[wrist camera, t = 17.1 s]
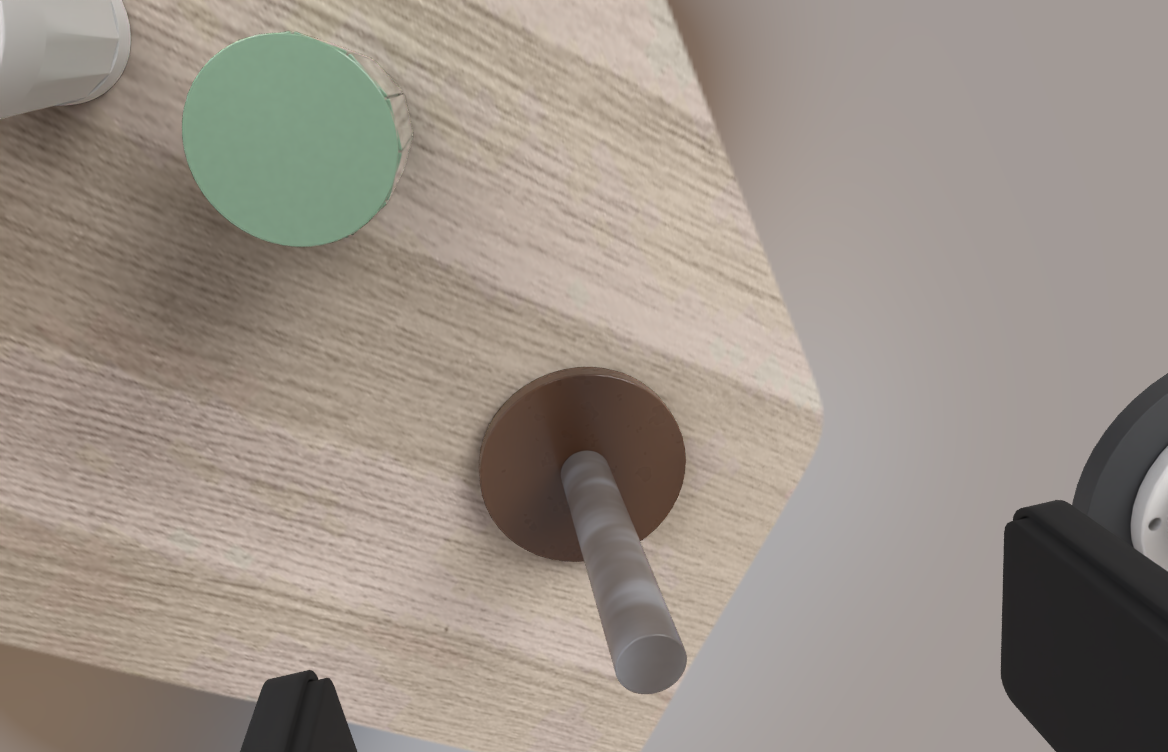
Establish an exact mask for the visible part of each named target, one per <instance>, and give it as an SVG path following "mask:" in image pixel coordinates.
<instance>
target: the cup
mask: <svg viewBox="0 0 1168 752" xmlns="http://www.w3.org/2000/svg"><path fill="white" fill-rule="evenodd" d="M130 46H131V32H130V25H129V20H128V16H127V12H126V10H125V7H124V4H123V2H122V0H0V119H3V118H7V117H11V116H15V115H19V114H23V113H27V112H31V111H35V110H39V109H43V108H47V107H51V106H63V105H75V104H80V103H84V102H88V101H90V100H93V99H95V98H97V97H99V96H101V95H102V94H104V93H105V92H106V91H108V90H109V89H110V88H111V87H112V86H113V85H114V84H115V83H116V82H117V80H118V79H119V78H120V76H121V75H122V73H123V71H124V69H125V67H126V64H127V61H128V58H129V53H130Z"/></svg>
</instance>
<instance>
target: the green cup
mask: <svg viewBox="0 0 1168 752" xmlns="http://www.w3.org/2000/svg"><path fill="white" fill-rule="evenodd" d="M401 93H402V90H401V89H400V88H399V87H398V85H397V84H396V83H395V82H394V81H393V80H392V79H391V77H390V76H389V75H388V74H387V73H386V72H385V71H384V70H383V68H382V67H381V66H380V65H379V64H378V63H377V62H376V61H375V60H372V58H371V57H368V56H365V55H363V54H360V53H357V52H355V51H352V50H349V49H347V48H344V47H341V46H339V45H336V44H333V43H330V42H327V41H324V40H321V39H318V38H315V37H311V36H308V35H305V34H302V33H299V32H291V31H285V32H280V33H267V34H259V35H255V36H251V37H247V38H244V39H240V40H238V41H237V42H234V43H232V44H231V45H229V46H227V47H226V48H224V49H222V50H221V51H220V52H218V53H217V54H216V55H215V56H214V57H212V58H211V59H210V60H209V61H208V62H207V63H206V65H205V66H204V67H203V68H202V69H201V70H200V72H199V74H198V75H197V77H196V78H195V80H194V81H193V83H192V86H191V88H190V90H189V92H188V95H187V98H186V102H185V106H184V111H183V118H182V139H183V146H184V152H185V155H186V159H187V162H188V166H189V168H190V170H191V173H192V175H193V178H194V179H195V181H196V183H197V185H198V186H199V188H200V190H201V191H202V193H203V194H204V196H205V197H206V198H207V200H208V201H209V202H210V203H211V205H212V206H213V207H214V208H215V209H216V210H217V211H218V212H219V213H220V214H221V215H222V216H223V217H225V218H226V219H227V220H228V221H229V222H231V223H232V224H233V225H235V226H236V227H238V228H239V229H241V230H242V231H244V232H246V233H248V234H250V235H252V236H254V237H256V238H259V239H262V240H264V241H267V242H270V243H274V244H278V245H283V246H291V247H313V246H320V245H325V244H329V243H333V242H336V241H338V240H341V239H343V238H348V237H349V235H353V234H354V233H356V232H357V231H358V230H359V229H360V228H362V227H363V226H364V225H365V224H367V223H368V222H369V221H370V220H371V219H372V218H373V217H374V216H375V215H376V214H377V212H379V211H380V210H381V209H382V208H383V207H384V206H385V205H386V204H387V202H388V200H389V199H390V197H391V195H392V193H393V191H394V189H395V187H396V185H397V183H398V181H399V179H400V177H401V175H402V174H403V172H404V168H405V165H406V161H407V158H408V154H409V151H410V147H411V144H412V140H413V136H412V134H413V128H412V124H411V120H410V116H409V112H408V108H407V104H406V99H405V95H404V94H403V95H400V94H401Z"/></svg>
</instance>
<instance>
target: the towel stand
mask: <svg viewBox="0 0 1168 752" xmlns="http://www.w3.org/2000/svg"><path fill="white" fill-rule="evenodd" d="M685 464H686V456H685V446H684V442H683V437H682V434H681V432H680V429H679V426H678V424H677V422H676V421H675V419H674V417H673V415H672V414H671V412H670V411H669V409H668V408H667V406H666V405H665V404H664V402H663V401H662V400H661V399H660V397H659V396H658V395H657V394H656V393H654V392H653V391H652V390H651V389H650V388H649V387H647V386H646V385H645V384H643V383H642V382H640V381H638V380H637V379H635V378H633V377H631V376H629V375H626V374H623V373H621V372H618V371H614V370H610V369H605V368H596V367H577V368H570V369H564V370H560V371H557V372H553V373H550V374H547V375H545V376H543V377H540V378H538V379H536V380H534V381H532V382H531V383H529V384H527V385H526V386H524V387H523V388H521V389H520V390H519V391H517V392H516V393H515V394H514V395H513V396H512V397H510V398H509V399H508V400H507V401H506V402H505V403H504V404H503V406H502V407H501V408H500V410H499V411H498V412H497V413H496V415H495V416H494V418H493V420H492V421H491V423H490V425H489V427H488V429H487V431H486V434H485V436H484V439H483V443H482V446H481V451H480V459H479V476H480V486H481V491H482V496H483V499H484V502H485V505H486V508H487V510H488V512H489V514H490V516H491V518H492V519H493V521H494V522H495V523H496V525H497V526H498V528H499V529H500V530H501V531H502V532H503V533H504V534H505V535H506V536H507V537H508V538H509V539H511V540H512V541H513V542H514V543H516V544H517V545H519V546H520V547H522V548H524V549H525V550H527V551H529V552H532V553H534V554H536V555H539V556H542V557H545V558H549V559H553V560H559V561H570V562H580V561H584V562H585V566H586V569H587V573H588V577H589V580H590V584H591V587H592V591H593V594H594V598H595V602H596V605H597V609H598V612H599V616H600V619H601V623H602V627H603V630H604V634H605V637H606V641H607V644H608V648H609V652H610V655H611V659H612V662H613V666H614V669H615V673H616V676H617V679H618V681H619V682H620V683H621V684H622V685H623V686H624V687H625V688H626V689H628V690H630V691H632V692H634V693H638V694H653V693H657V692H661V691H663V690H665V689H667V688H669V687H670V686H672V685H673V684H674V683H676V682H677V681H678V679H679V678H680V677H681V676H682V674H683V672H684V670H685V667H686V662H687V655H686V651H685V649H684V646H683V644H682V641H681V639H680V637H679V634H678V632H677V629H676V627H675V624H674V622H673V620H672V617H671V615H670V612H669V610H668V608H667V605H666V603H665V600H664V598H663V595H662V593H661V591H660V588H659V586H658V583H657V581H656V579H655V576H654V574H653V571H652V569H651V566H650V564H649V562H648V559H647V557H646V554H645V552H644V550H643V547H642V545H641V542H640V541H641V540H643V539H644V538H646V537H647V536H648V535H649V534H650V533H651V532H653V531H654V530H655V529H656V528H657V527H658V526H659V525H660V523H661V522H662V521H663V520H664V519H665V518H666V516H667V515H668V513H669V512H670V510H671V509H672V507H673V505H674V503H675V501H676V500H677V498H678V495H679V492H680V490H681V487H682V484H683V479H684V474H685Z"/></svg>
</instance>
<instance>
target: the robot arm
mask: <svg viewBox="0 0 1168 752" xmlns="http://www.w3.org/2000/svg"><path fill="white" fill-rule="evenodd" d="M1131 539H1132V543H1133V546H1134V548H1133V547H1132V546H1130V545H1129V544H1127V543H1126V542H1124V541H1123V540H1122V539H1120V538H1119V537H1117V536H1116V535H1114V534H1113V533H1111V532H1110V531H1109V530H1107V529H1106V528H1104V527H1103V526H1101V525H1100V524H1098V523H1097V522H1096V521H1094V520H1093V519H1091V518H1090V517H1088V516H1087V515H1085V514H1084V513H1082V512H1081V511H1080V510H1078V509H1077V508H1075V507H1074V506H1072V505H1071V504H1069V503H1067V502H1065V501H1062V500H1055V501H1051V502H1047V503H1042V504H1038V505H1033V506H1029V507H1024V508H1021V509H1019V510H1017V511H1016V513H1015V514H1014V517H1013V521H1011V522H1009V523H1007V525H1006V527H1005V531H1004V563H1003V603H1002V604H1003V605H1002V643H1001V645H1002V647H1001V679H1002V683H1003V686H1004V689H1005V691H1006V693H1007V695H1008V697H1009V698H1010V700H1011V701H1012V702H1013V703H1014V705H1015V706H1016V707H1017V708H1018V709H1019V710H1020V712H1022V714H1023V715H1024V716H1025V717H1026V718H1027V719H1028V721H1029V722H1030V723H1031V724H1032V725H1033V726H1034V727H1035V729H1036V730H1037V731H1038V732H1039V733H1040V734H1041V735H1042V736H1043V738H1044V739H1045V740H1046V741H1047V742H1048V743H1049V744H1050V745H1051V747H1052V748H1053V749H1054V750H1055V751H1056V752H1168V446H1167V447H1166V448H1165V449H1164V450H1163V451H1162V452H1161V454H1160V455H1159V456H1158V458H1157V459H1156V460H1155V462H1154V463H1153V465H1152V466H1151V467H1150V469H1149V470H1148V472H1147V474H1146V476H1145V478H1144V480H1143V482H1142V484H1141V485H1140V487H1139V490H1138V493H1137V496H1136V499H1135V502H1134V505H1133V510H1132V517H1131ZM240 752H357V749H356V747H355V744H354V741H353V738H352V735H351V733H350V730H349V727H348V724H347V721H346V718H345V715H344V713H343V710H342V707H341V704H340V701H339V698H338V696H337V693H336V690H335V687H334V685H333V683H332V681H331V680H330V678H324V679H320V680H318V677H317V675H316V674H315V673H314V672H313V671H311V670H308V671H303V672H299V673H294V674H290V675H286V676H281V677H277V678H272V679H268V680H267V681H266V682H265V683H264V685H263V687H262V690H261V692H260V695H259V698H258V701H257V704H256V707H255V710H254V713H253V716H252V719H251V722H250V724H249V727H248V731H247V733H246V736H245V739H244V742H243V745H242V748H241V751H240Z"/></svg>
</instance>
